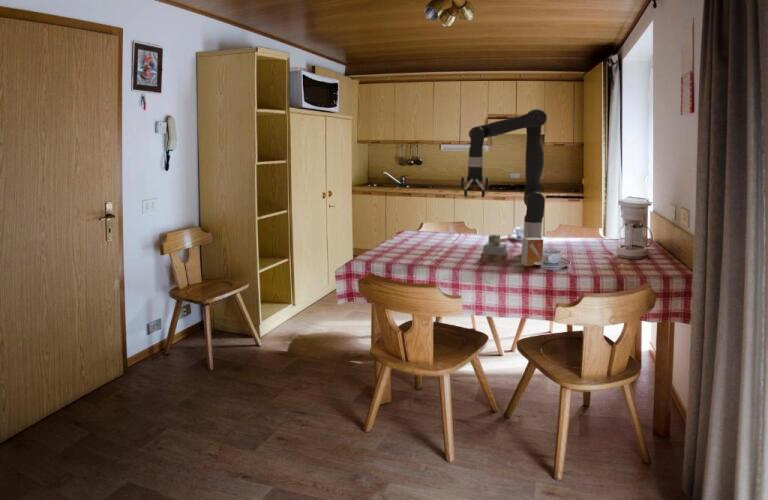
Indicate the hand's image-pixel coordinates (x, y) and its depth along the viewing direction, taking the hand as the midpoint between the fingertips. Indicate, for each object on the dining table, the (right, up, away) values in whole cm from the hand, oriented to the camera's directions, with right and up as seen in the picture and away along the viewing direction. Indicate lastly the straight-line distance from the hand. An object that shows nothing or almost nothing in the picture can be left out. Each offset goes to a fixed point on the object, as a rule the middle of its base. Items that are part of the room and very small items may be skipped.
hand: (474, 197), depth 317 cm
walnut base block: (+8, -33, -11) cm, 36 cm away
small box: (+24, -35, -23) cm, 48 cm away
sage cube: (+8, -25, -12) cm, 29 cm away
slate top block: (+9, -29, -11) cm, 32 cm away
